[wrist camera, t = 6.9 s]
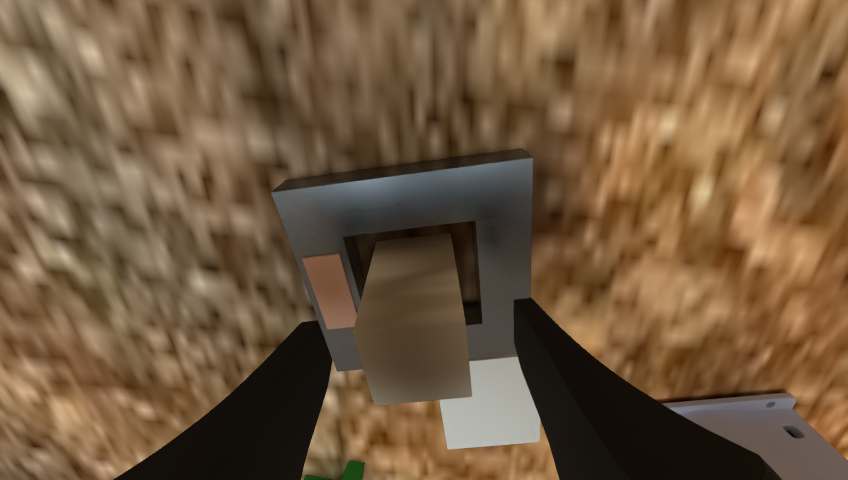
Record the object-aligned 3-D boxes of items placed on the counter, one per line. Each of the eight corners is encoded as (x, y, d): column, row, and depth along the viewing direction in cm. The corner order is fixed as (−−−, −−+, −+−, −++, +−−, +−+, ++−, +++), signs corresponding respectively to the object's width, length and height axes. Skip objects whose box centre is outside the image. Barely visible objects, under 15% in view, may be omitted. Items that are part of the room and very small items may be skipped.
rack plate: (522, 148, 13) (533, 158, 12) (521, 331, 18) (529, 354, 17) (285, 180, 14) (270, 193, 13) (343, 349, 19) (336, 373, 17)
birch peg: (450, 232, 15) (465, 321, 10) (456, 293, 17) (472, 396, 12) (376, 241, 16) (352, 332, 10) (389, 300, 17) (374, 405, 12)
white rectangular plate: (539, 343, 19) (543, 354, 18) (535, 429, 22) (539, 441, 22) (433, 353, 19) (433, 364, 18) (446, 437, 23) (447, 449, 22)
